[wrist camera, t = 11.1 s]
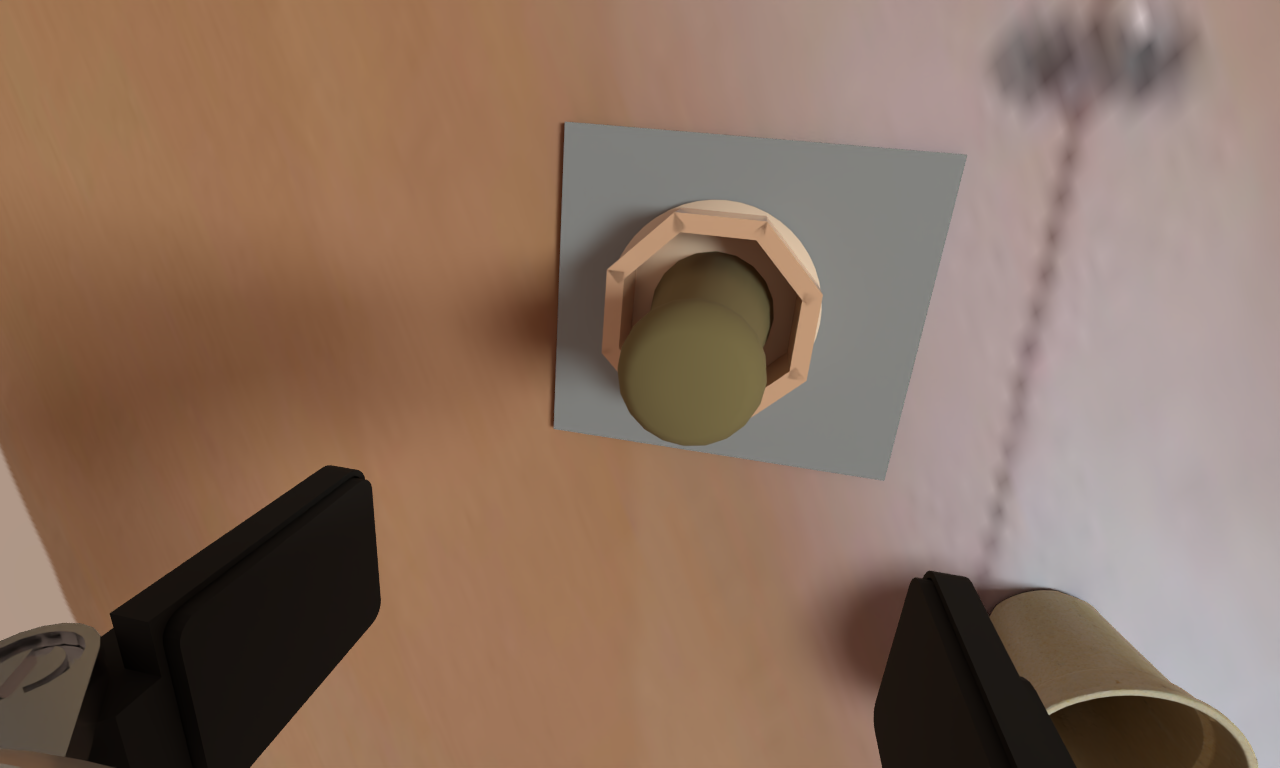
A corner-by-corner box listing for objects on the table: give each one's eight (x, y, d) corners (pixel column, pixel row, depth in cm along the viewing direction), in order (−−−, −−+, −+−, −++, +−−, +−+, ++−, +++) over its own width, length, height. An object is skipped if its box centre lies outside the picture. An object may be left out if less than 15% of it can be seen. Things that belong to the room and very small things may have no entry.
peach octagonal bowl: (800, 418, 32) (805, 448, 28) (604, 389, 33) (587, 414, 30) (839, 210, 28) (850, 217, 25) (618, 189, 29) (600, 192, 26)
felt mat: (882, 477, 32) (884, 480, 32) (555, 426, 35) (553, 428, 34) (964, 154, 27) (967, 154, 26) (567, 122, 29) (564, 121, 29)
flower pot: (909, 628, 35) (953, 765, 27) (1051, 528, 32) (1150, 652, 24) (1026, 725, 36) (1103, 886, 28) (1177, 639, 32) (1315, 795, 24)
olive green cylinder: (691, 392, 31) (658, 500, 21) (627, 292, 30) (560, 357, 20) (797, 334, 29) (816, 423, 19) (733, 226, 28) (718, 260, 18)
